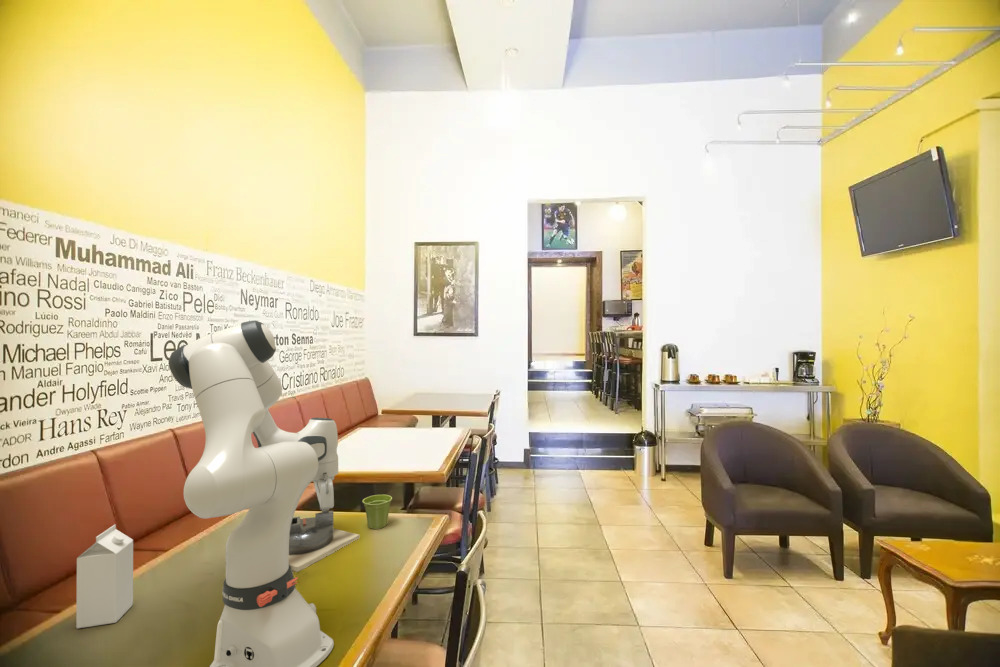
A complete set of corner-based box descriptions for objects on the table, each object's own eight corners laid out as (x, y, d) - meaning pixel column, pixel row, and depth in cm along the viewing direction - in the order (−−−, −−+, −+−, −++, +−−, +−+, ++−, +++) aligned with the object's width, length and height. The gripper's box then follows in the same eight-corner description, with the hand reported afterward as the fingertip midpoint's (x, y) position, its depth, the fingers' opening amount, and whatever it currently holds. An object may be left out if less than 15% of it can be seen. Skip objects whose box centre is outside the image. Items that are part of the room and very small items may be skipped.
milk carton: (75, 629, 94) (76, 539, 94) (96, 610, 101) (96, 526, 101) (115, 623, 96) (116, 535, 96) (133, 605, 103) (133, 522, 103)
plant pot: (360, 523, 148) (360, 497, 148) (389, 518, 152) (389, 492, 152) (364, 533, 140) (364, 506, 140) (394, 528, 144) (394, 501, 144)
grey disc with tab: (335, 546, 127) (335, 520, 128) (273, 558, 121) (272, 531, 121) (331, 526, 142) (331, 502, 142) (275, 536, 135) (275, 511, 136)
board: (359, 538, 136) (359, 534, 136) (297, 571, 117) (297, 566, 117) (310, 526, 146) (310, 522, 146) (245, 554, 127) (245, 549, 127)
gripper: (338, 476, 130) (339, 523, 130) (330, 459, 148) (331, 500, 148) (315, 480, 127) (316, 528, 127) (309, 462, 145) (310, 504, 145)
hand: (324, 513), depth 138 cm, fingers open, 4 cm apart
